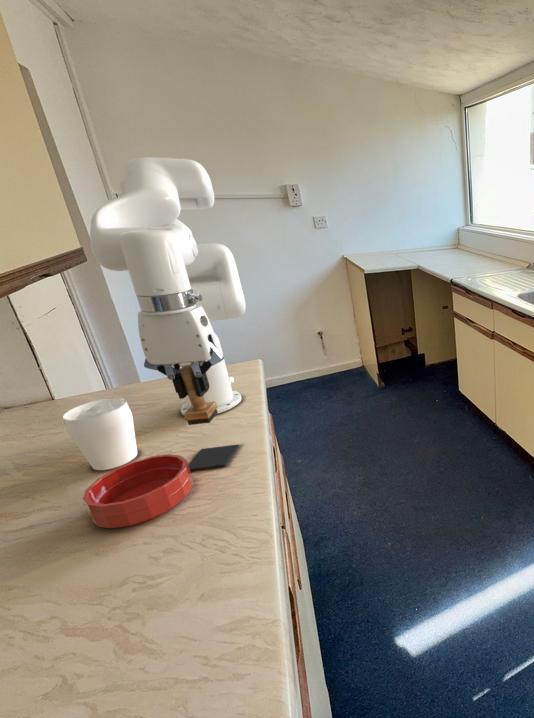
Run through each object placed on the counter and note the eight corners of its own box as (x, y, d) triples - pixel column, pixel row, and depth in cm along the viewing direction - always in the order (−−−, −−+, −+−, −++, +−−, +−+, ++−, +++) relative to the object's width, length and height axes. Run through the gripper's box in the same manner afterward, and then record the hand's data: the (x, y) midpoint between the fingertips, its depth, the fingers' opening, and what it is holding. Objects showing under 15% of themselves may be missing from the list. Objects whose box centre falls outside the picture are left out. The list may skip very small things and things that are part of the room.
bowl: (126, 482, 74) (117, 460, 73) (206, 471, 77) (200, 450, 76) (72, 537, 62) (60, 512, 61) (169, 522, 65) (161, 498, 64)
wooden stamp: (197, 414, 80) (179, 363, 76) (219, 412, 81) (203, 361, 76) (187, 425, 76) (167, 372, 72) (210, 423, 77) (192, 370, 73)
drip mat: (202, 450, 84) (201, 448, 84) (239, 446, 85) (238, 444, 85) (185, 471, 77) (184, 469, 77) (225, 466, 79) (225, 464, 79)
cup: (107, 477, 76) (86, 423, 72) (71, 471, 77) (48, 417, 73) (156, 450, 84) (139, 399, 80) (123, 444, 86) (104, 395, 82)
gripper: (227, 294, 76) (248, 382, 82) (127, 299, 72) (157, 390, 78) (209, 304, 69) (233, 398, 75) (98, 310, 65) (133, 409, 71)
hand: (194, 393), depth 76 cm, fingers closed on wooden stamp, 2 cm apart
